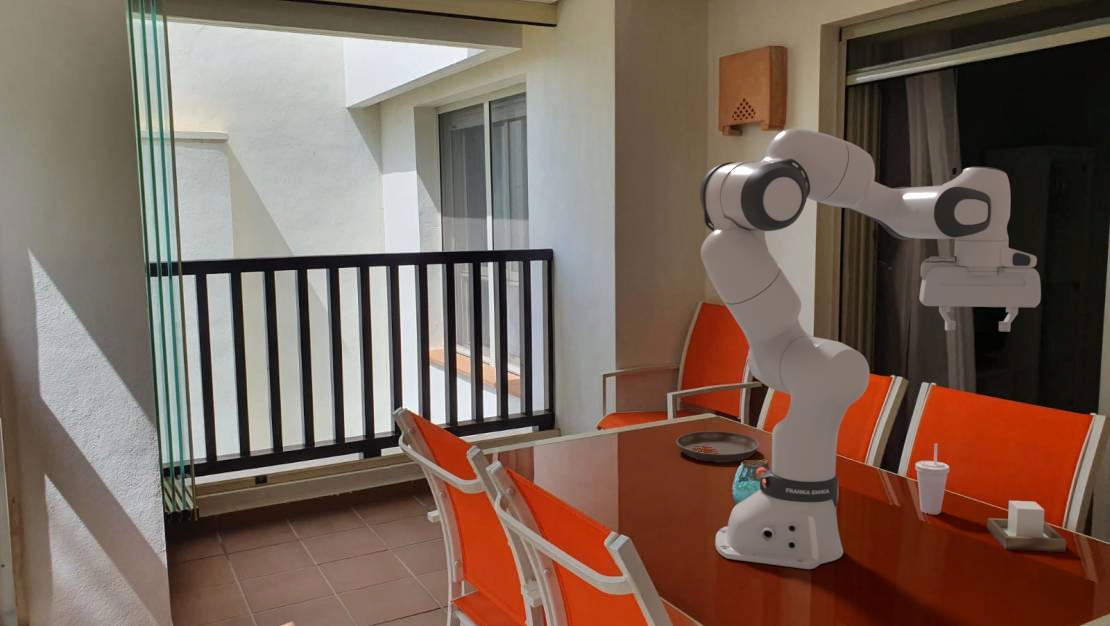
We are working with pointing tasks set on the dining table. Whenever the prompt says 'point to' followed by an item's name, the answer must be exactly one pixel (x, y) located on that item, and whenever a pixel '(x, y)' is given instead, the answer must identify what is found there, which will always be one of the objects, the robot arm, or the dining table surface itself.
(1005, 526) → the rest tray
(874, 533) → the dining table surface
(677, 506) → the dining table surface
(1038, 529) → the cream block
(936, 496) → the smoothie
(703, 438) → the plant saucer
